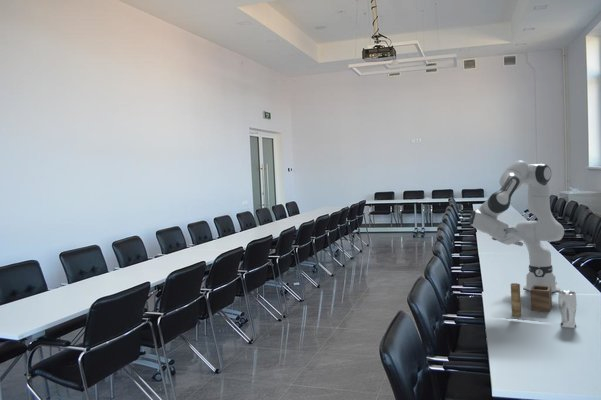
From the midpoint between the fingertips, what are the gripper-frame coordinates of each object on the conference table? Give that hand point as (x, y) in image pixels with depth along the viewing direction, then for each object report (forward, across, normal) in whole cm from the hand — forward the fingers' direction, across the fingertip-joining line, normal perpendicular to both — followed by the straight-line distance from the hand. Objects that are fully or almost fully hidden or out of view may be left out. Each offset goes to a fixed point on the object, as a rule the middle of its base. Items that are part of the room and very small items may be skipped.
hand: (526, 243), depth 244 cm
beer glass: (+23, -19, +33) cm, 44 cm away
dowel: (+7, -4, +36) cm, 37 cm away
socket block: (+19, +3, +25) cm, 32 cm away
